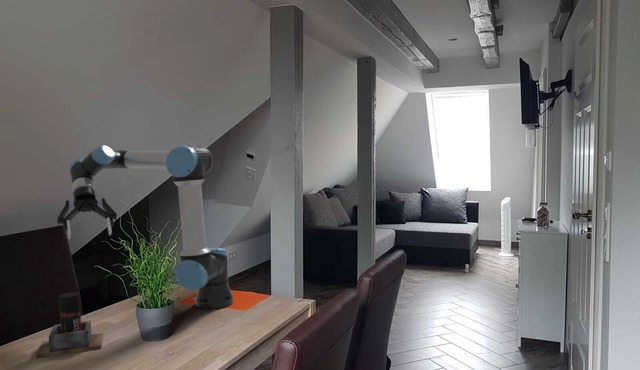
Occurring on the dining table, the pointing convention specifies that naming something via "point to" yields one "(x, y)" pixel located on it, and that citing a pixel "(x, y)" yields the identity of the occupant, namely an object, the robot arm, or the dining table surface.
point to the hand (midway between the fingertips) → (90, 234)
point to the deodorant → (70, 312)
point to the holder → (70, 341)
